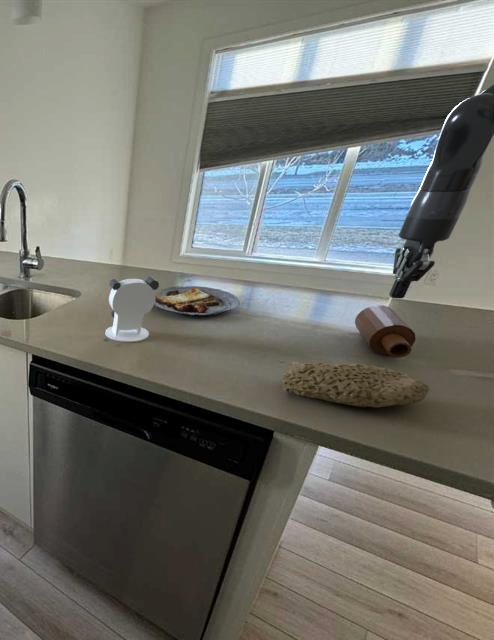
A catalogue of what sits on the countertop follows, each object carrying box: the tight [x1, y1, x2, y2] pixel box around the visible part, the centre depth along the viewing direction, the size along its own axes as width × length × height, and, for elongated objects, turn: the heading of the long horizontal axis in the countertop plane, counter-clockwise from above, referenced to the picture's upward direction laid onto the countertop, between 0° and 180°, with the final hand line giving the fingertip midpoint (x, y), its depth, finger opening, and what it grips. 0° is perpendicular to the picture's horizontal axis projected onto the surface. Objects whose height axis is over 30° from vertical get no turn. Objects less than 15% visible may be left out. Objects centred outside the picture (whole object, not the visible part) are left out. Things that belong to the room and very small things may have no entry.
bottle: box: [354, 304, 416, 359], centre depth 91 cm, size 7×7×18 cm
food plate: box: [154, 285, 241, 317], centre depth 123 cm, size 25×23×4 cm
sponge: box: [281, 361, 430, 408], centre depth 75 cm, size 13×8×20 cm
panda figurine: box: [104, 276, 160, 343], centre depth 107 cm, size 12×11×15 cm
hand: (395, 297), depth 90 cm, fingers closed
